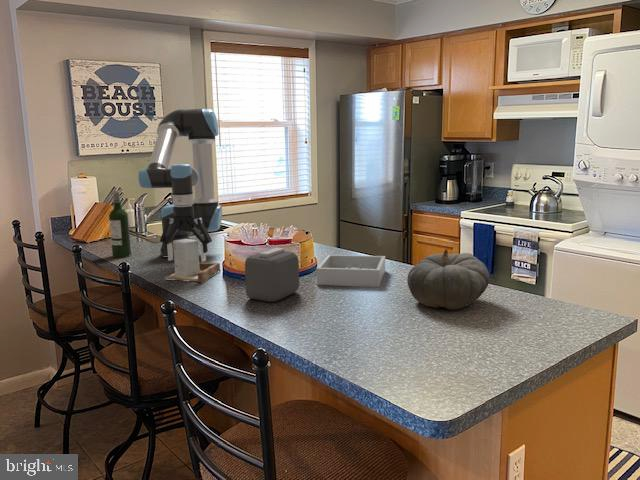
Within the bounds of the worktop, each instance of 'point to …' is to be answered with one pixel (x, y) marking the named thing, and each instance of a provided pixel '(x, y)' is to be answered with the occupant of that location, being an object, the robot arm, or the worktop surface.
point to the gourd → (448, 280)
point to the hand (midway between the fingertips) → (187, 260)
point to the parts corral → (351, 270)
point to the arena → (204, 274)
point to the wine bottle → (119, 229)
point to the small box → (186, 257)
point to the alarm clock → (271, 275)
